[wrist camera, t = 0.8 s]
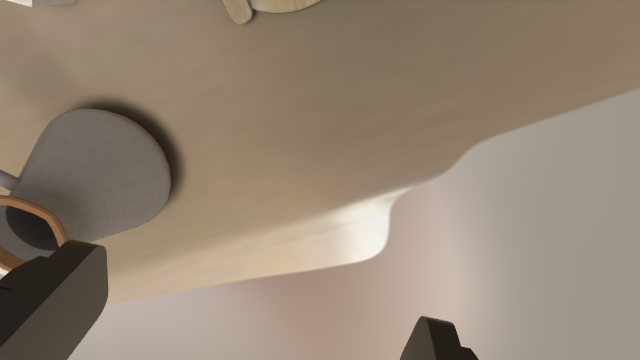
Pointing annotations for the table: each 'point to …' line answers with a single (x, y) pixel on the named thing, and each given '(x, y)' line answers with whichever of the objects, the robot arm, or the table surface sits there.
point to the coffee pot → (81, 185)
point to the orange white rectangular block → (43, 2)
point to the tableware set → (262, 7)
